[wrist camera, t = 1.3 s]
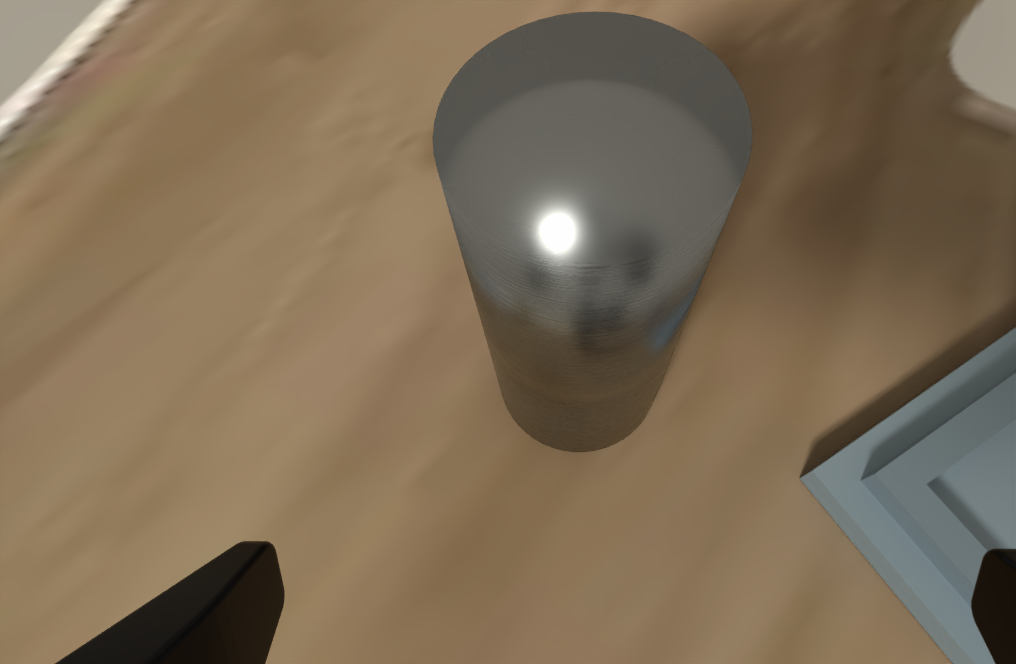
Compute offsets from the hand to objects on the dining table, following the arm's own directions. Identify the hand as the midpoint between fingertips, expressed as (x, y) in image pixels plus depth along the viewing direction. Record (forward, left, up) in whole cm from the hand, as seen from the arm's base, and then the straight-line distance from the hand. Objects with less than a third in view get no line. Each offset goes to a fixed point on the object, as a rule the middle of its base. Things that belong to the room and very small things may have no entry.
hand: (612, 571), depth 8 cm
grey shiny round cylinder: (+6, -4, -13) cm, 15 cm away
